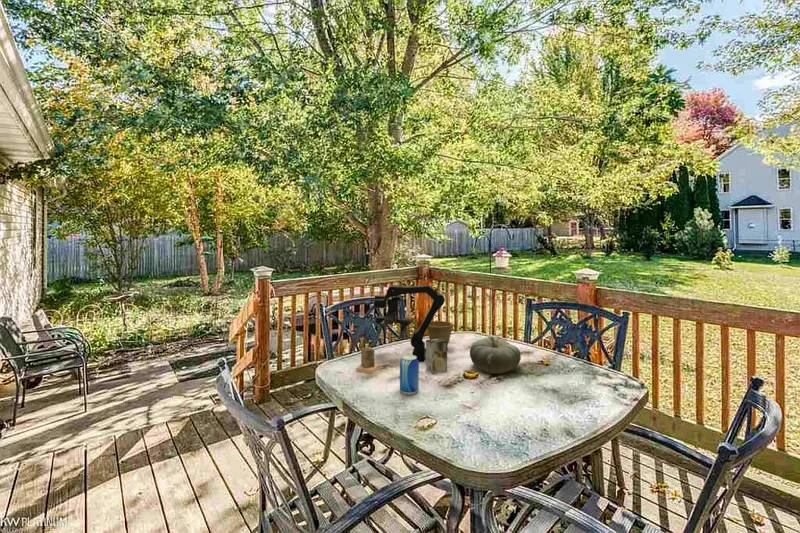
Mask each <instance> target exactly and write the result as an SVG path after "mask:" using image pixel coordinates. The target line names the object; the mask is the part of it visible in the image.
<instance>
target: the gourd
mask: <svg viewBox="0 0 800 533" xmlns="http://www.w3.org/2000/svg"><path fill="white" fill-rule="evenodd" d="M469 357H470V359H471V362H472V363H473V365H475V367H477V368H479V369H481V370H482V371H484V372H486V373H490V374H496V375H499V374H505V373H507V372H510V371H514V370H515V369H516V368H517V367H518V366H519V364H520V362H521V357H522V356H521V351H520V349H519V348H518V347H517V346H516V345H514V344H510V342H508V341H506V340H505V339H504V338H503V339H502V338H499V337H497V336H494V335H489V336H488V337H484V338H481V339H478V340H476V341H475V342H474V343H472V345H471V346H470V349H469Z"/></svg>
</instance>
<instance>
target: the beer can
mask: <svg viewBox="0 0 800 533" xmlns="http://www.w3.org/2000/svg"><path fill="white" fill-rule="evenodd" d="M419 373H420V361H418V360H417V357H416V356H415V355H412V354H405V355H402V356H401V360H400V361H399V391H400V392H401V393H402V394H403V395H408V396H410V395H411V396H412V395H416V394H417V393H418V391H419V387H420V386H419V385H420V384H419V380H420V379H419V376H420V374H419Z"/></svg>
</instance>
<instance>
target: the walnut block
mask: <svg viewBox="0 0 800 533" xmlns="http://www.w3.org/2000/svg"><path fill="white" fill-rule="evenodd" d="M360 350H361V352H360V353H361V354H360V357H361V358H360V360H361V361H360V362H361V364H360V365H362V366H363V367H364V368H370V367H374V364H375V349H374V348H373V347H371V346H368V347H362V348H360Z"/></svg>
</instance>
